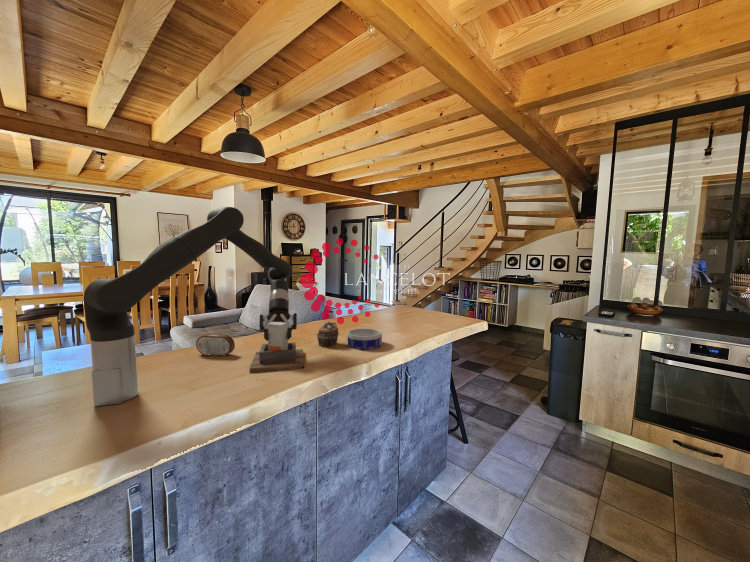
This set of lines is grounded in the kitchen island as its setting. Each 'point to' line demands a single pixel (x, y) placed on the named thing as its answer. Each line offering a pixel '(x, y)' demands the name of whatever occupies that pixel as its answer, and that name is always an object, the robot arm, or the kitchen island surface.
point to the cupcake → (328, 335)
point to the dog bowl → (364, 338)
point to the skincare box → (277, 336)
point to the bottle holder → (277, 359)
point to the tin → (215, 344)
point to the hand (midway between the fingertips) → (277, 339)
